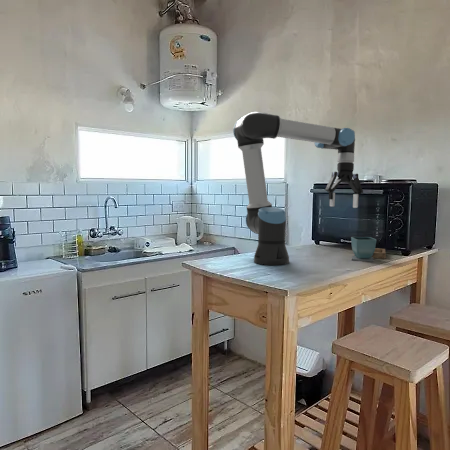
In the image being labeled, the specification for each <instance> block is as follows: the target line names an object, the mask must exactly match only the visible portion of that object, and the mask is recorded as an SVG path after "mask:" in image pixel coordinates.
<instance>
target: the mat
mask: <svg viewBox="0 0 450 450" xmlns="http://www.w3.org/2000/svg"><path fill="white" fill-rule="evenodd" d="M351 261H353V262H355V261H356V262H371V263H372V262H374V258H373V257H371V258H369V259H367V258H361V259H359V258H357V257H356V256H355V255H352V257H351Z"/></svg>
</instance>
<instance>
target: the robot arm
mask: <svg viewBox="0 0 450 450" xmlns="http://www.w3.org/2000/svg"><path fill="white" fill-rule="evenodd" d="M232 129H233V130H232V131H233V136H234V138H235V140H236V141H237V147H238V149H239V150H240V151H241V152H242V160H243V167H244V168H243V169H244V174H245V175H244V176H245V181H246V189H247V198H248V205H247V206H246V213H247V214H246V216H245V224H246V227H247V228H248V230H250V232H252V233H254V234H257V237H258V238H257V240H258V241H257V247H256V250H255V252H254V256H253V262H254V264H255V263H256V264H257V263H258V265H263V264H264V266H282V265H287V264H289V263H290V256H289V253H288V250H287V246H286V231H287V230H286V229H287V228H286V224H287V223H286V220H287V216H286V211H285V209H283V208H279V207H274V206H272V202H270V201H269V199H268V192H267V185H266V184H267V183H266V176H265V175H266V174H265V170H264V162H263V154H262V147H263V145H264V144H265V143H264V139H277V138H283V139H284V138H285V139H288V140H289V139H290V140H297V141H302V142H303V141H304V142H310V143H314V147H316V148H317V149H324V150H326V149H327V150H335V151H337V163H336V164H337V168H336V170H337V171H332V172H331V176H330V178H329V181H328V182H327V185H326V187H325V191H326V192H327V193H328V200H329V207H335V201H336V200H335V199H336V192H335V191H336V189H337V188H338V186H339V185H340V184H341V183H347V184H348V185H349V187H350V188H351V189H352V191H353V193H354V194H352V195H353V197H352V208H353V209H356V208H358V207H359V201H360V195H361V194H363V193H364V190H363V187H362V185H361V182H360V179H359V174H358V173H353V172H354V170H355V169H354V167H355V166H354V164H355V163H354V162H355V145H356V144H355V142H356V132H355V131H354V130H353V129H351V128H349V127H343V128H340V127H339V128H338V127H333V126H332V127H331V126H326V125H320V124H314V123H310V122H309V123H308V122H304V121H296V120H291V119H286V118H285V119H284V118H281V117H280V115H277V114H271V113H267V112H261V111H253V112H252V111H251V112H250V113H247V114H246V115H243V116H241V117H239V118H238V119H237V120H236V122H235V123H234V124H233V128H232Z"/></svg>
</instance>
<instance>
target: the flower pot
mask: <svg viewBox="0 0 450 450" xmlns="http://www.w3.org/2000/svg"><path fill="white" fill-rule="evenodd" d="M350 240H351V241H350V242H351V249H352V252H353V256H356V257H357V258H359V259H361V258H367V259H369V258H371V257H372V255H373V253H374V251H375V248H376V245H377V239H376V238H373V237H371V236H351V237H350Z"/></svg>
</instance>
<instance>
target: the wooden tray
mask: <svg viewBox="0 0 450 450" xmlns="http://www.w3.org/2000/svg"><path fill="white" fill-rule="evenodd" d="M386 255H387V253H386V248H378V247H377V248H376V247H375V251H374V253H373V255H372V257H373V259H383V260H384V259H385V260H386Z"/></svg>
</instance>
